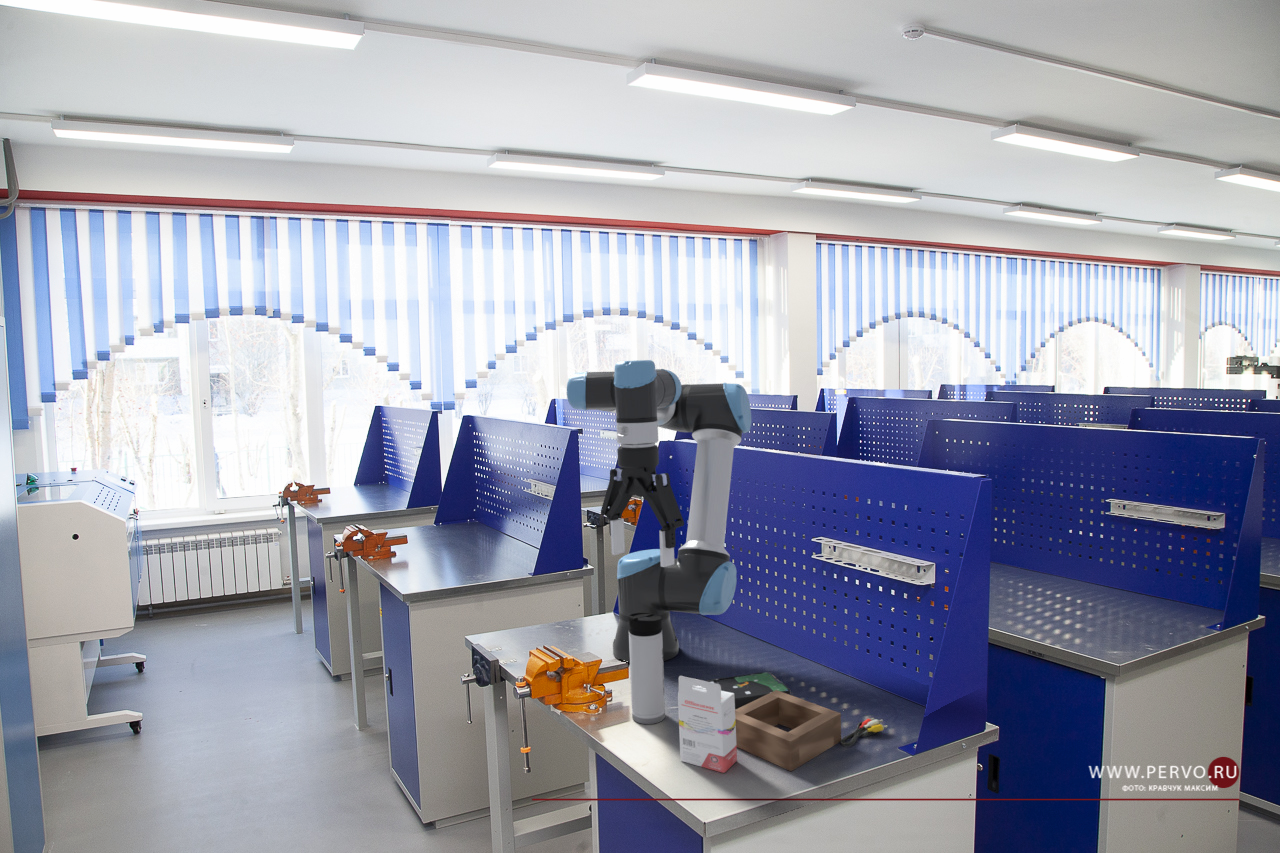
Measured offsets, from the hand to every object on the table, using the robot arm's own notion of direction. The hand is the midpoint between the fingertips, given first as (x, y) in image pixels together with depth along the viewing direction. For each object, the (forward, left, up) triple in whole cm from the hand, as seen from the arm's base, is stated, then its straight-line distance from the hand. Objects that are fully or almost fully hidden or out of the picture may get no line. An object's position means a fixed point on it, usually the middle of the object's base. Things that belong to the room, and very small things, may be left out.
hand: (642, 559), depth 146 cm
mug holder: (+24, +10, -30) cm, 40 cm away
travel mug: (0, 0, -30) cm, 31 cm away
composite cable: (+32, +21, -31) cm, 49 cm away
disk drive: (+7, +20, -31) cm, 38 cm away
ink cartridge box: (+19, -4, -30) cm, 36 cm away
